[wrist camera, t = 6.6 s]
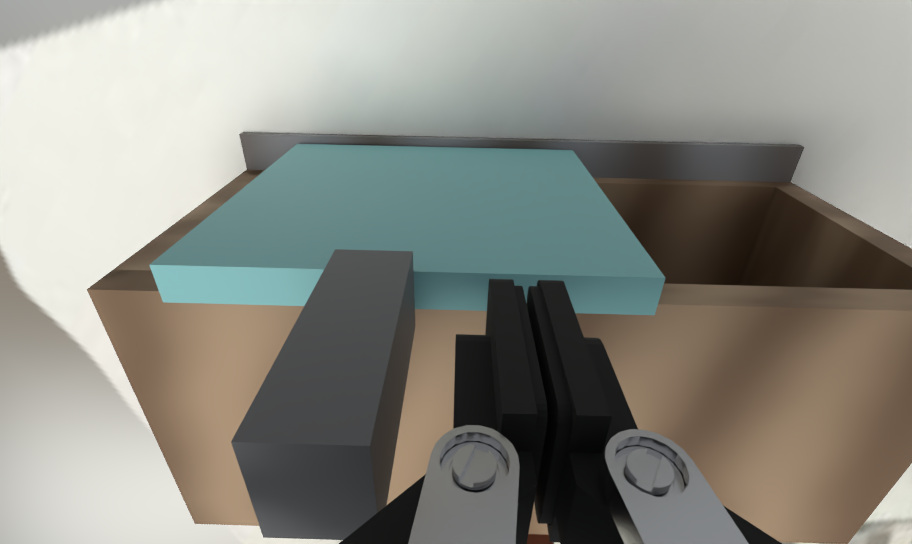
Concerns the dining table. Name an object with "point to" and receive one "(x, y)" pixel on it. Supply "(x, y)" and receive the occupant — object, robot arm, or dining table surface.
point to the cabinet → (606, 338)
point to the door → (384, 295)
